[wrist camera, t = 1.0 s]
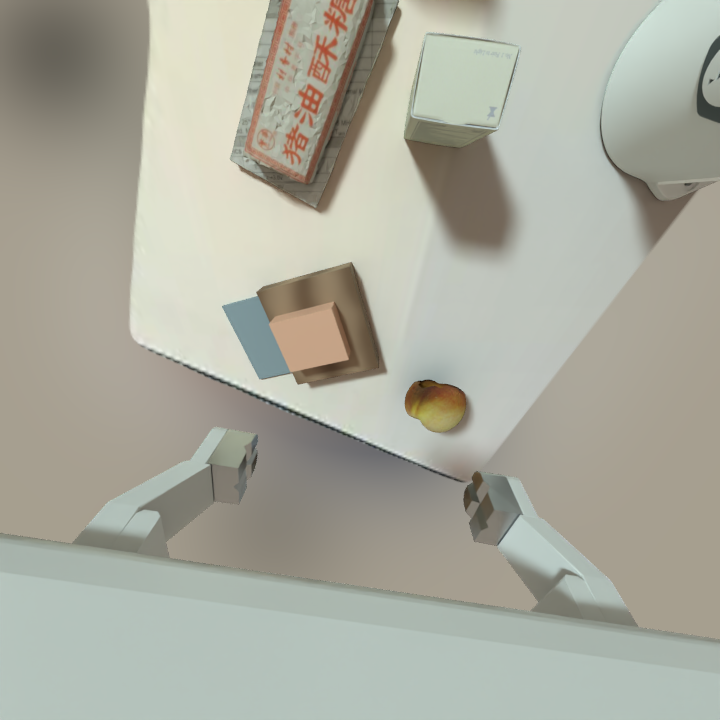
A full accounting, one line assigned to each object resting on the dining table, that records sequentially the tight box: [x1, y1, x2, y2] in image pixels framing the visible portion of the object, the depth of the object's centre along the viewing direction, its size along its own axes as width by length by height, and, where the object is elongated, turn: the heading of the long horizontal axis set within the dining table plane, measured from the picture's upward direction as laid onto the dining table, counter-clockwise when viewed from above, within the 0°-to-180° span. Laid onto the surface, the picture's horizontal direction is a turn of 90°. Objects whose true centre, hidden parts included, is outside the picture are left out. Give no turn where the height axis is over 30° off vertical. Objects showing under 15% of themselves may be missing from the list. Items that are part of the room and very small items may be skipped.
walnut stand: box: [256, 262, 379, 384], centre depth 41 cm, size 12×14×2 cm
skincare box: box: [404, 32, 521, 148], centre depth 25 cm, size 6×4×12 cm
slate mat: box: [222, 296, 291, 379], centre depth 43 cm, size 8×12×1 cm, turn 16°
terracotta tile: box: [269, 302, 351, 372], centre depth 39 cm, size 8×7×2 cm
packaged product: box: [230, 0, 399, 208], centre depth 28 cm, size 18×5×10 cm
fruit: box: [405, 380, 466, 433], centre depth 42 cm, size 8×8×8 cm
